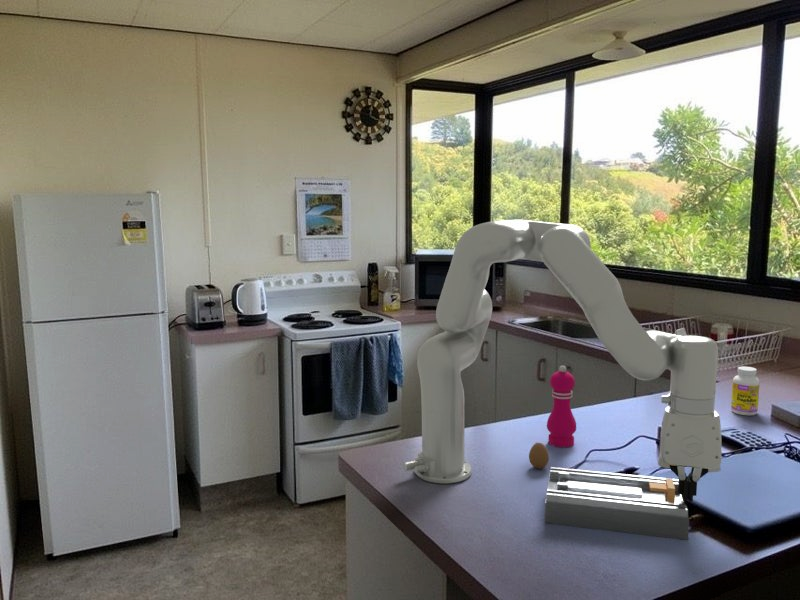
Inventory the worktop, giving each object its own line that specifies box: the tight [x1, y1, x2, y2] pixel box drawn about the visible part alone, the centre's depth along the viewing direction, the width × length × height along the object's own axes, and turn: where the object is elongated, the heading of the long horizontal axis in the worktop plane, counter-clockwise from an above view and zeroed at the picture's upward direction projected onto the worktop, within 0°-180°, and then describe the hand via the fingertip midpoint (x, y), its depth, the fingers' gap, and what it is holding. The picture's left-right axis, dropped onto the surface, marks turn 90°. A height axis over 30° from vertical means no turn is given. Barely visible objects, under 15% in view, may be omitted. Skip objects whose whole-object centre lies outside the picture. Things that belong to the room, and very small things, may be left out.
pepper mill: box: [546, 365, 577, 448], centre depth 159 cm, size 7×7×20 cm
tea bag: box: [673, 327, 688, 336], centre depth 250 cm, size 4×7×10 cm, turn 131°
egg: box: [528, 442, 550, 470], centre depth 146 cm, size 4×4×6 cm
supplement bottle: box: [730, 365, 761, 417], centre depth 180 cm, size 7×7×13 cm
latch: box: [649, 477, 675, 503], centre depth 121 cm, size 4×4×3 cm
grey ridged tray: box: [544, 466, 690, 541], centre depth 124 cm, size 25×14×6 cm, turn 74°
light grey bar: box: [561, 479, 642, 499], centre depth 124 cm, size 15×3×1 cm, turn 74°
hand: (686, 497), depth 120 cm, fingers closed
